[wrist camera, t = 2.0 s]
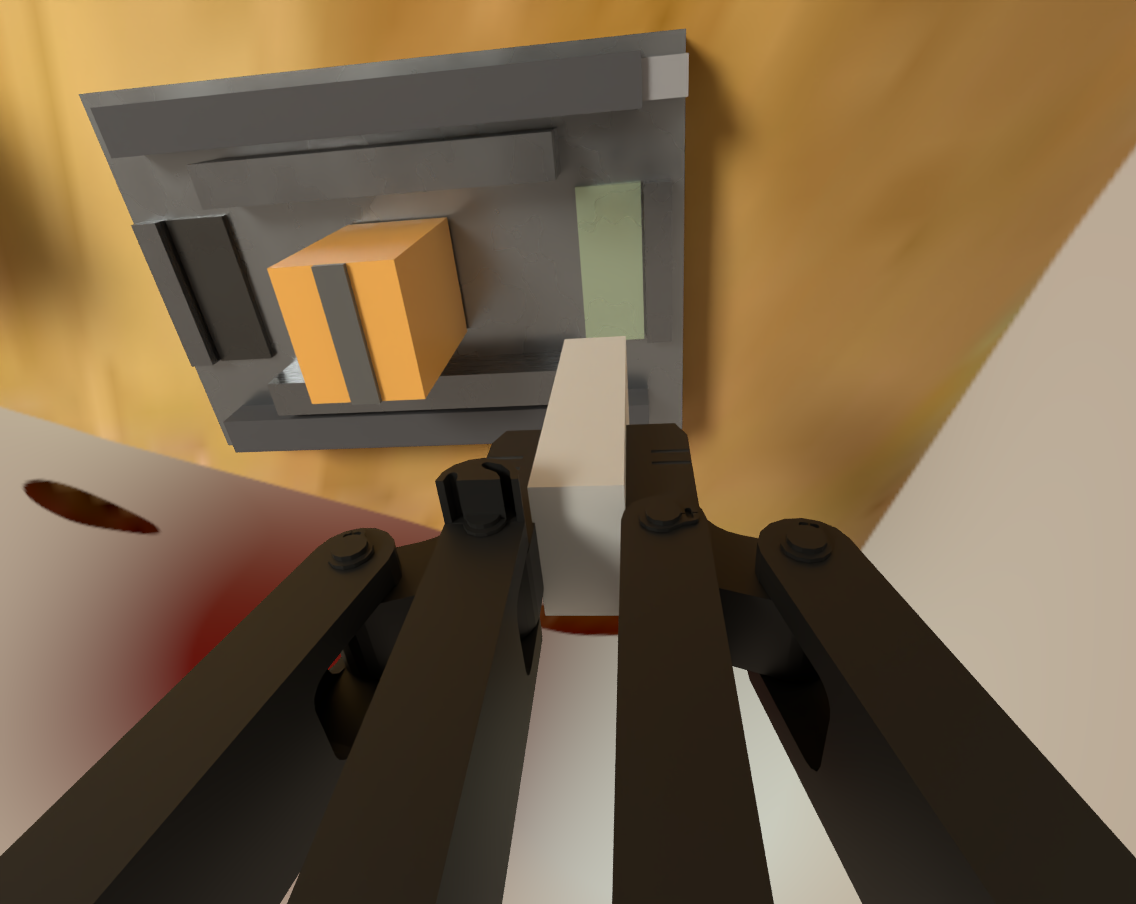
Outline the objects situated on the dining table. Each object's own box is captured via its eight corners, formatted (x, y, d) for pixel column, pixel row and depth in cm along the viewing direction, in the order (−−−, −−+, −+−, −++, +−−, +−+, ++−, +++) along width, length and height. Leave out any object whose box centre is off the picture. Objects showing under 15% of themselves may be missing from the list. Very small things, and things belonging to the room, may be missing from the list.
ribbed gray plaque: (122, 105, 23) (90, 107, 21) (685, 47, 21) (689, 45, 19) (253, 435, 30) (235, 452, 29) (682, 419, 28) (685, 436, 26)
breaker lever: (347, 224, 24) (263, 270, 19) (447, 217, 24) (391, 261, 18) (376, 336, 27) (309, 406, 21) (467, 331, 26) (423, 401, 21)
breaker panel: (123, 92, 25) (34, 95, 21) (680, 32, 22) (691, 24, 19) (253, 421, 32) (205, 467, 29) (678, 404, 30) (685, 452, 26)
